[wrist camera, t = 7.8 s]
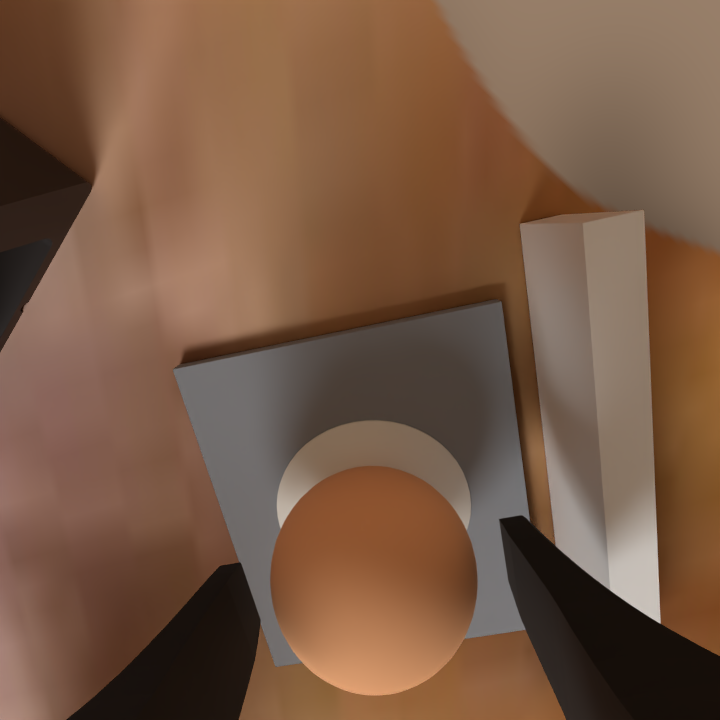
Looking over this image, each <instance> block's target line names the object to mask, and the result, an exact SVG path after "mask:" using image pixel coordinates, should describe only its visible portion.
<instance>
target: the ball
mask: <svg viewBox="0 0 720 720" xmlns="http://www.w3.org/2000/svg"><path fill="white" fill-rule="evenodd" d="M270 587H271V596H272V603H273V608H274V612H275V615H276V618H277V621H278V624H279V626H280V629H281V631H282V634H283V635H284V637H285V639H286V640H287V642H288V644H289V645H290V647H291V649H292V651H293V652H294V653H295V654H296V656H297V657H298V658H299V659H300V660H301V661H302V662H303V663H304V665H305V666H307V667H308V668H309V669H310V670H311V671H312V672H313V673H314V674H316V675H317V676H318V677H320V678H321V679H323V680H324V681H326V682H328V683H330V684H332V685H334V686H336V687H338V688H340V689H343V690H346V691H349V692H352V693H357V694H363V695H388V694H394V693H398V692H401V691H405V690H407V689H410V688H412V687H415V686H417V685H419V684H421V683H422V682H424V681H426V680H428V679H429V678H431V677H432V676H433V675H435V674H436V673H437V672H438V671H439V670H440V669H441V668H442V667H443V666H444V665H445V664H446V663H448V661H449V660H450V659H451V658H452V657H453V655H454V654H455V653H456V651H457V649H458V648H459V646H460V645H461V643H462V641H463V640H464V638H465V636H466V634H467V631H468V629H469V626H470V623H471V621H472V618H473V614H474V610H475V605H476V599H477V588H478V575H477V564H476V559H475V554H474V550H473V546H472V543H471V540H470V538H469V535H468V533H467V530H466V528H465V526H464V524H463V522H462V520H461V519H460V517H459V516H458V514H457V512H456V511H455V509H454V508H453V507H452V505H451V504H450V503H449V502H448V501H447V499H446V498H445V497H443V496H442V495H441V494H440V493H439V492H438V491H437V490H436V489H435V488H434V487H432V486H431V485H430V484H428V483H427V482H425V481H424V480H422V479H420V478H418V477H416V476H414V475H412V474H410V473H407V472H404V471H402V470H399V469H395V468H390V467H384V466H362V467H355V468H351V469H347V470H344V471H341V472H338V473H336V474H333V475H331V476H329V477H327V478H325V479H324V480H322V481H320V482H319V483H318V484H316V485H315V486H313V487H312V488H311V489H310V490H309V491H308V492H307V493H306V494H305V495H304V496H302V497H301V498H300V500H299V501H298V502H297V503H296V504H295V506H294V507H293V508H292V510H291V511H290V513H289V514H288V516H287V518H286V519H285V521H284V523H283V525H282V528H281V530H280V532H279V535H278V537H277V540H276V543H275V547H274V551H273V556H272V561H271V573H270Z"/></svg>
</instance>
